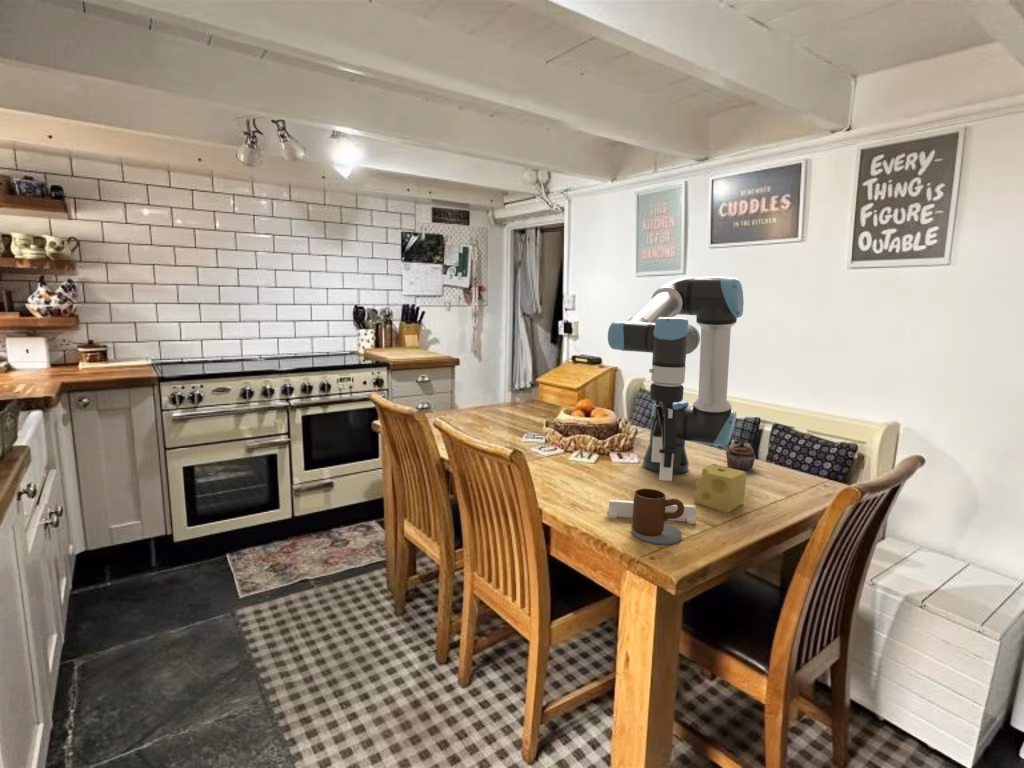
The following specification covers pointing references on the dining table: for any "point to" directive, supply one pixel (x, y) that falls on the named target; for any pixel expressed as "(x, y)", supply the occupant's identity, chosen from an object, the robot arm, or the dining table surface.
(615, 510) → the rail
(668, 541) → the disc
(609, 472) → the dining table surface
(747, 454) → the cupcake
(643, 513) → the mug
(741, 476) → the cheese
